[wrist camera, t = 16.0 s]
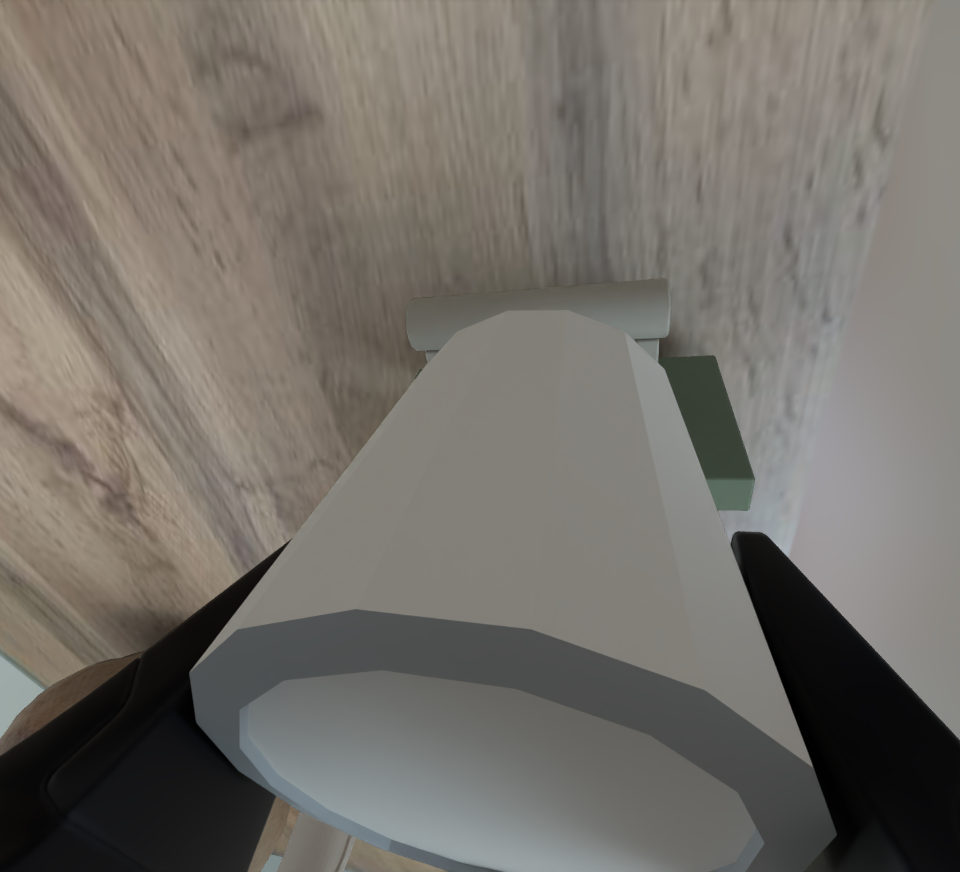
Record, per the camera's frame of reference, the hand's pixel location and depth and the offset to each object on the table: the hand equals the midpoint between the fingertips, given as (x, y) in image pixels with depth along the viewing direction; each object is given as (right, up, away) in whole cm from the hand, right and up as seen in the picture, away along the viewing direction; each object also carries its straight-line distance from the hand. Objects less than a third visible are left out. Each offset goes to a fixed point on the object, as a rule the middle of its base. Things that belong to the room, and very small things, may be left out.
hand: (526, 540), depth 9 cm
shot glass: (+1, +2, +2) cm, 3 cm away
